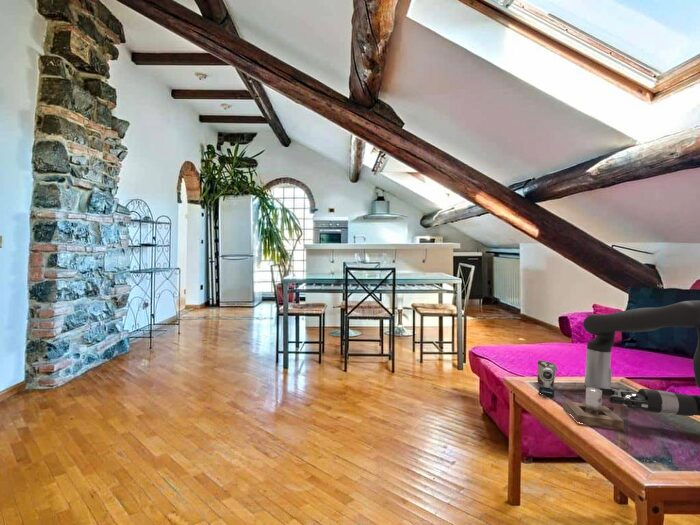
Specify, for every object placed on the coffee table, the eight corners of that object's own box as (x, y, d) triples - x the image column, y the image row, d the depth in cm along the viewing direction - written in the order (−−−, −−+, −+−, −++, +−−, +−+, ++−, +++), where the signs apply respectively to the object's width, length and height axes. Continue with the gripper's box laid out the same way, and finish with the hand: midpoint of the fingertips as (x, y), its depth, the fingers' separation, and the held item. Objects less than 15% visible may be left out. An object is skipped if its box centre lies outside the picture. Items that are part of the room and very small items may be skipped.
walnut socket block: (605, 415, 139) (605, 406, 139) (623, 431, 125) (624, 421, 125) (563, 409, 142) (564, 400, 142) (577, 425, 128) (577, 415, 128)
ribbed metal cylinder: (597, 416, 135) (598, 388, 135) (602, 421, 130) (604, 392, 130) (582, 413, 136) (583, 386, 136) (587, 419, 132) (589, 390, 132)
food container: (560, 391, 162) (562, 368, 162) (545, 389, 163) (547, 366, 163) (550, 382, 174) (551, 361, 174) (536, 381, 175) (537, 359, 175)
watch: (538, 395, 155) (540, 369, 155) (539, 390, 162) (541, 365, 162) (553, 398, 152) (555, 371, 152) (554, 393, 159) (556, 367, 159)
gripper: (647, 384, 136) (596, 378, 140) (670, 397, 122) (614, 390, 126) (645, 404, 136) (595, 398, 140) (669, 420, 122) (612, 413, 126)
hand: (604, 394), depth 133 cm, fingers open, 8 cm apart
